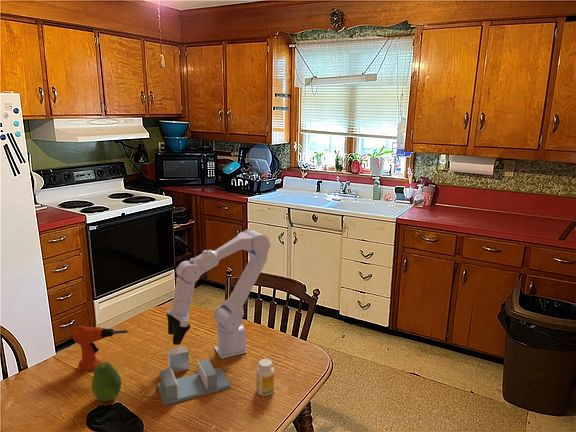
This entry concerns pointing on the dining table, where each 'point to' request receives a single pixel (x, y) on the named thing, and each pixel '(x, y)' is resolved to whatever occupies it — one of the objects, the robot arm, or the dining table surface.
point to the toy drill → (91, 344)
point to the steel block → (178, 359)
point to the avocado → (105, 382)
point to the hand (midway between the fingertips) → (173, 339)
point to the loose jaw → (207, 374)
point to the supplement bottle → (265, 377)
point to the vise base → (187, 386)
